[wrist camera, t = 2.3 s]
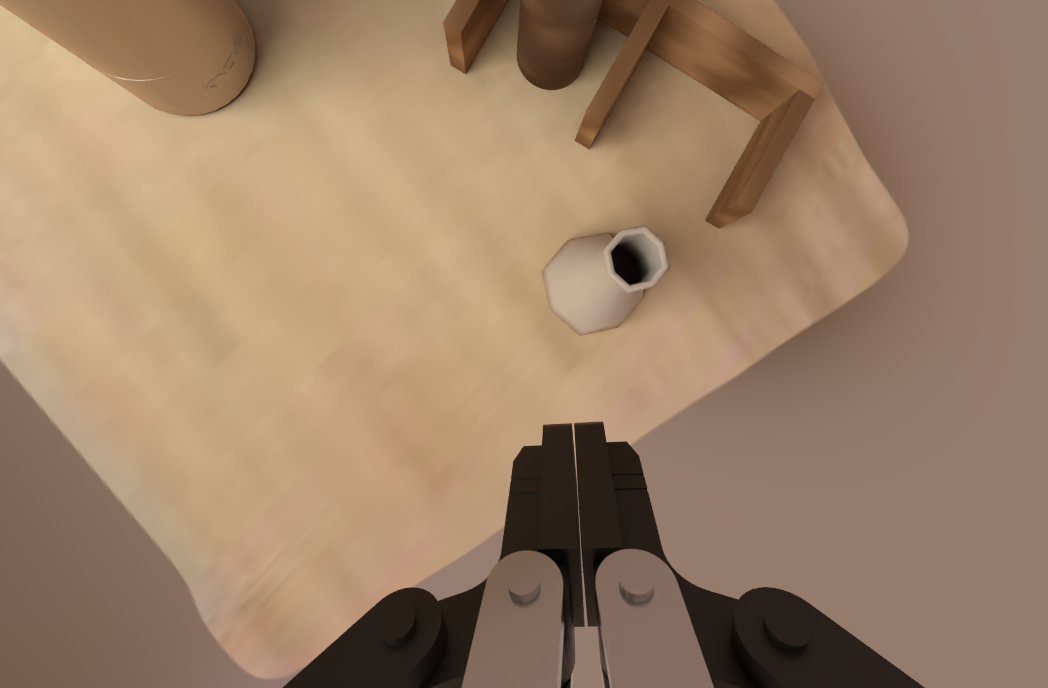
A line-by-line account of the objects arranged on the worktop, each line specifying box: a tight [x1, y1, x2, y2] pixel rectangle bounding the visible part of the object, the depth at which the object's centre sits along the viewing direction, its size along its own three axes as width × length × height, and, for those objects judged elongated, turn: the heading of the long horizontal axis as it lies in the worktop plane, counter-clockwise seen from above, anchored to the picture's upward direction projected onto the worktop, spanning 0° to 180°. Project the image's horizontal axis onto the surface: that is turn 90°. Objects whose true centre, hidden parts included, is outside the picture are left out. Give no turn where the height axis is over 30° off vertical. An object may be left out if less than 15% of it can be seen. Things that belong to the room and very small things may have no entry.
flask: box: [542, 226, 670, 336], centre depth 26 cm, size 7×7×10 cm
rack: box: [443, 0, 824, 228], centre depth 28 cm, size 23×10×4 cm, turn 60°
